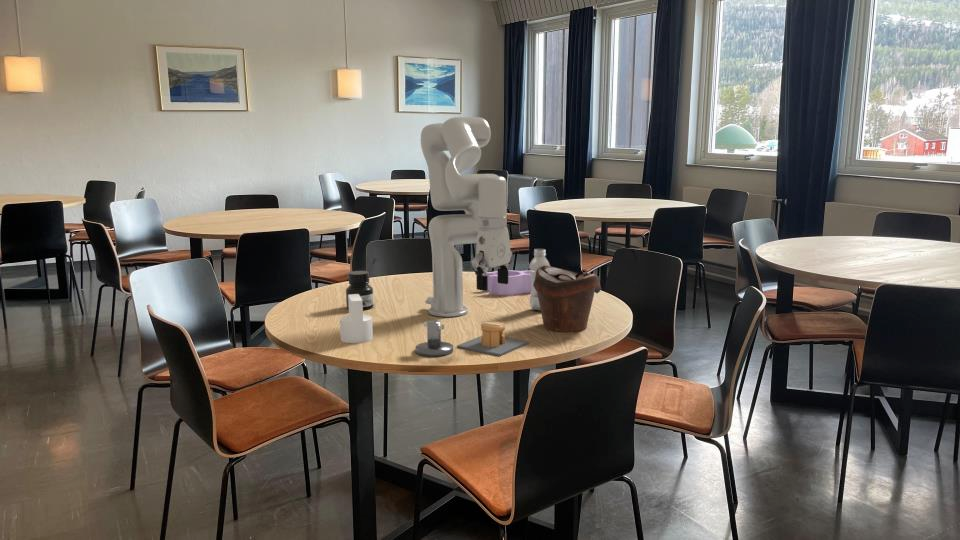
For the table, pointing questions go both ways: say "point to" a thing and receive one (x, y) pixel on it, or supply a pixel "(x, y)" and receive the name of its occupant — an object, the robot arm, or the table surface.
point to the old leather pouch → (565, 297)
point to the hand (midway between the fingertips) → (492, 286)
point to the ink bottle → (360, 288)
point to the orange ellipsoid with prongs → (492, 334)
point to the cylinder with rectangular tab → (356, 322)
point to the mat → (498, 351)
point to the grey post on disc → (434, 341)
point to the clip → (510, 283)
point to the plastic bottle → (534, 265)
